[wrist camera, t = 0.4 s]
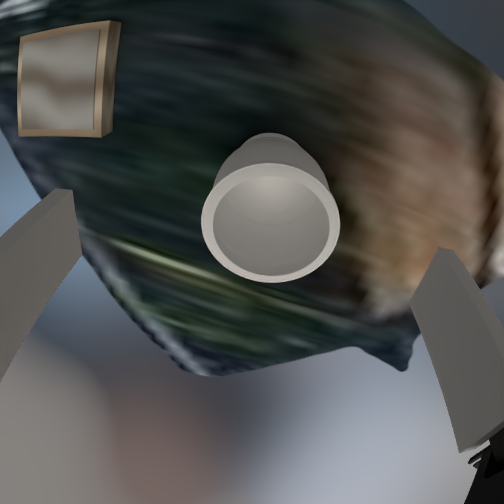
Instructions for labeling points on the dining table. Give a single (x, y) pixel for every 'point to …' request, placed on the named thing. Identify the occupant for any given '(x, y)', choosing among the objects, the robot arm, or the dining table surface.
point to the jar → (270, 211)
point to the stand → (68, 80)
